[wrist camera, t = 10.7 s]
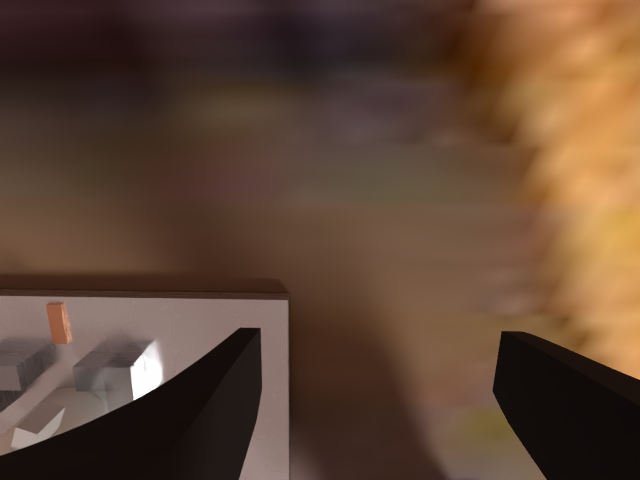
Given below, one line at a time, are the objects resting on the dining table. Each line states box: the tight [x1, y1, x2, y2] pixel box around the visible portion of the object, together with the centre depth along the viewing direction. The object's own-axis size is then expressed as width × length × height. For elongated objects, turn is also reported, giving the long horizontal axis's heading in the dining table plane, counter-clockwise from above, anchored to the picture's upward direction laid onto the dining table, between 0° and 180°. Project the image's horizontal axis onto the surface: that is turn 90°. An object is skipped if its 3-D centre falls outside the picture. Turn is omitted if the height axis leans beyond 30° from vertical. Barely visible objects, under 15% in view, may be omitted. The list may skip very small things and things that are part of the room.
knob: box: [0, 388, 109, 455], centre depth 18 cm, size 6×4×5 cm
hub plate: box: [0, 289, 290, 480], centre depth 21 cm, size 16×18×2 cm
